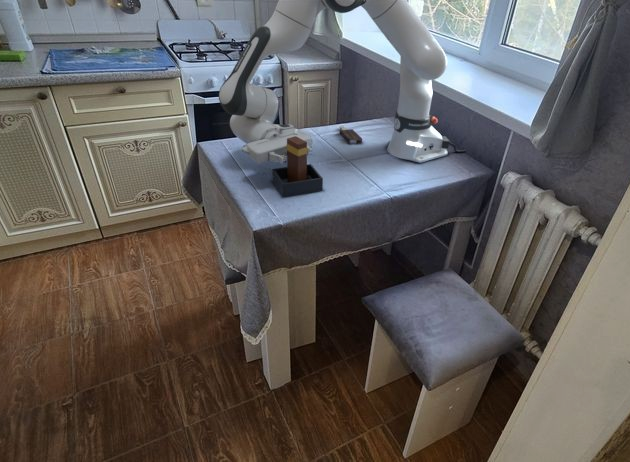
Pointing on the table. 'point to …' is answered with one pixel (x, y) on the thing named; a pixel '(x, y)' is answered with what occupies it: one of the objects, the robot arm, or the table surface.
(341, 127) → the ice cream bar
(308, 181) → the tray
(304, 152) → the chocolate box
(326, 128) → the table surface
